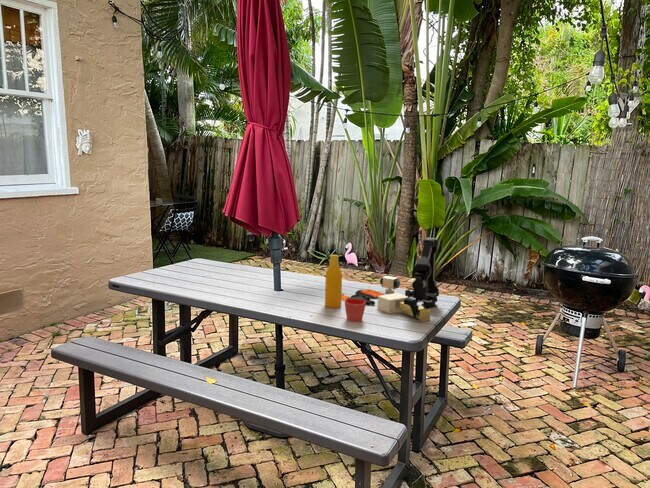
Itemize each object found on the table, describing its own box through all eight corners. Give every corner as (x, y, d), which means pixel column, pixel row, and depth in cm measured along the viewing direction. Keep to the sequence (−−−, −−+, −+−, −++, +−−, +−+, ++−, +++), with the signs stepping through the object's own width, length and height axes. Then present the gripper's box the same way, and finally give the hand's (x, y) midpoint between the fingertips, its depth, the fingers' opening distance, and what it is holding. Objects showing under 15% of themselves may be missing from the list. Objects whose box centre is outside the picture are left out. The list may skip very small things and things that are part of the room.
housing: (396, 305, 267) (397, 292, 266) (408, 309, 258) (409, 296, 257) (377, 308, 259) (377, 295, 258) (389, 313, 251) (389, 300, 250)
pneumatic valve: (395, 297, 284) (396, 277, 282) (379, 293, 291) (380, 275, 289) (400, 295, 288) (401, 276, 286) (384, 292, 295) (384, 273, 294)
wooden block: (407, 311, 254) (407, 300, 253) (429, 320, 240) (430, 308, 239) (398, 313, 250) (398, 302, 249) (420, 322, 236) (421, 310, 235)
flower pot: (363, 316, 244) (364, 298, 243) (366, 323, 233) (366, 304, 232) (343, 316, 244) (344, 298, 242) (345, 322, 233) (345, 304, 231)
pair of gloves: (361, 291, 298) (362, 286, 297) (394, 298, 282) (395, 293, 282) (335, 299, 277) (335, 294, 276) (369, 308, 261) (369, 302, 261)
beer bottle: (322, 304, 265) (323, 254, 261) (337, 303, 268) (338, 253, 264) (328, 308, 256) (329, 257, 252) (343, 307, 260) (345, 256, 255)
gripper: (423, 281, 250) (421, 309, 253) (397, 285, 240) (395, 314, 243) (438, 286, 241) (437, 315, 243) (412, 290, 231) (410, 320, 233)
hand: (419, 316), depth 241 cm, fingers open, 7 cm apart
